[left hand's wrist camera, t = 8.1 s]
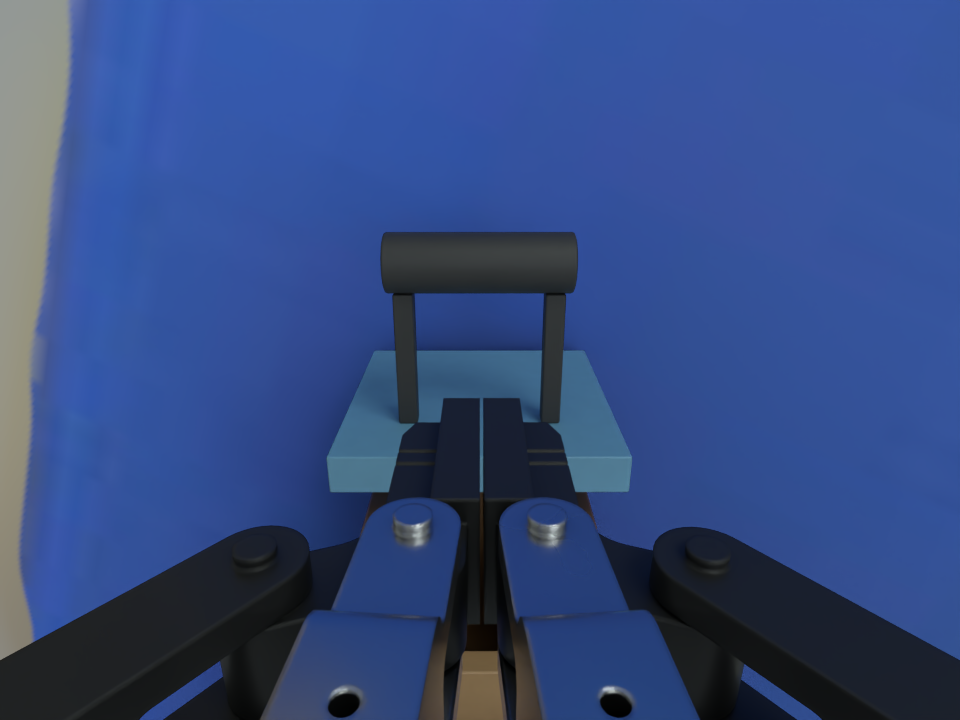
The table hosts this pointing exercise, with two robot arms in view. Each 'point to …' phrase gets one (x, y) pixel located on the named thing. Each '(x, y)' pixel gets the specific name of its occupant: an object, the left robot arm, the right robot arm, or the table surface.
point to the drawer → (478, 370)
